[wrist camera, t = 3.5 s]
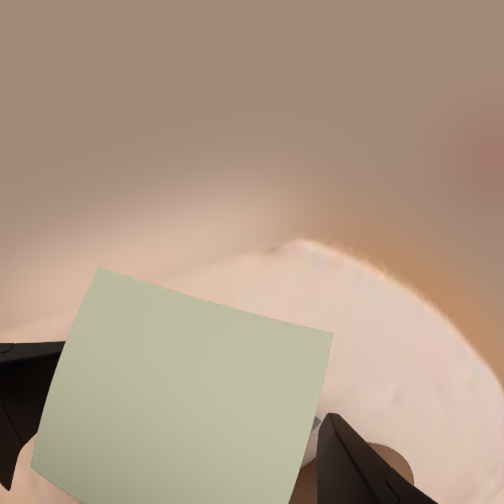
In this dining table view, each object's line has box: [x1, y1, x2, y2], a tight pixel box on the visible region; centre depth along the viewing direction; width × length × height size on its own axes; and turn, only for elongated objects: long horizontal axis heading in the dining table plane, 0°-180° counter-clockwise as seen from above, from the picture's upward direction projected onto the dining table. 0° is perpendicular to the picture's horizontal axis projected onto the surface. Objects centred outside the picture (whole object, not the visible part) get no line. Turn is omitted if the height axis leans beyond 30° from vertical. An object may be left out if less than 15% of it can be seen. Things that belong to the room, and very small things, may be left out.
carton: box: [31, 267, 333, 504], centre depth 10 cm, size 6×6×12 cm
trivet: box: [288, 443, 414, 504], centre depth 12 cm, size 9×9×1 cm
